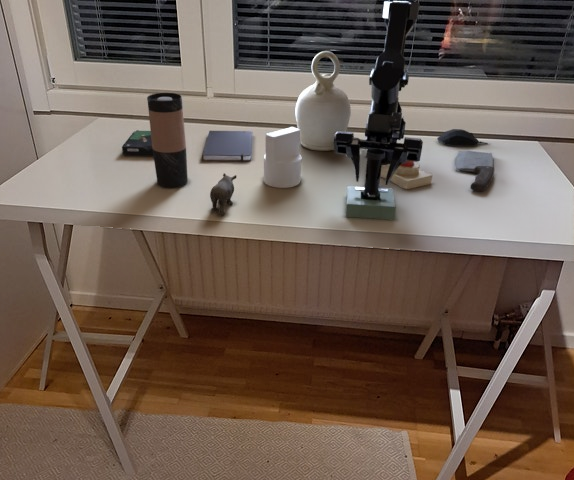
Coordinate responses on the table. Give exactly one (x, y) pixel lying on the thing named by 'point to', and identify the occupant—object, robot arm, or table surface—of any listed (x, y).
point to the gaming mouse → (458, 138)
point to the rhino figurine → (222, 193)
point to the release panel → (408, 176)
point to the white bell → (322, 108)
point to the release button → (408, 164)
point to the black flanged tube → (373, 174)
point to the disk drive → (138, 144)
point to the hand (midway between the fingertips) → (371, 182)
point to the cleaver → (476, 167)
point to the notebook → (228, 146)
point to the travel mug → (168, 139)
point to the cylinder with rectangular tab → (283, 158)
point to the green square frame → (370, 204)
